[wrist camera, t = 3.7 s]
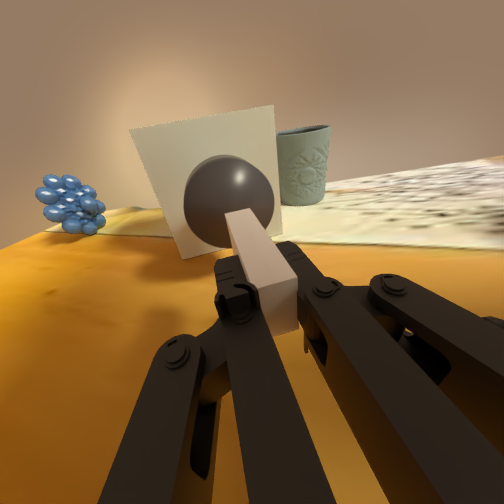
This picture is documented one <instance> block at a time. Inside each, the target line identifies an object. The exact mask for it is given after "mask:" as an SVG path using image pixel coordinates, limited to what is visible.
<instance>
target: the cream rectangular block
mask: <svg viewBox="0 0 504 504" xmlns="http://www.w3.org/2000/svg"><path fill="white" fill-rule="evenodd" d="M129 131H130V134H131V136H132V139H133V141H134V144H135V145H136V148H137V151H138V153H139V156H140V158H141V160H142V163H143V165H144V168H145V170H146V173H147V175H148V177H149V180H150V182H151V184H152V187H153V190H154V192H155V194H156V197H157V199H158V201H159V204H160V207H161V209H162V211H163V214H164V216H165V219H166V221H167V223H168V226H169V228H170V231H171V233H172V236H173V238H174V240H175V243H176V245H177V248H178V250H179V252H180V255H181V257H182V260H184V259H188V258H192V257H196V256H199V255H203V254H207V253H211V252H215V251H219V250H223V249H227V248H218V247H214V246H211V245H209V244H207V243H205V242H203V241H202V240H200V239H199V238H198V237H197V236H196V235H195V234H194V233H193V232H192V231H191V229H190V227H189V226H188V224H187V221H186V219H185V215H184V209H183V202H184V191H185V185H186V182H187V179H188V177H189V175H190V174H191V172H192V171H193V169H194V168H195V167H196V166H197V165H198V164H200V163H201V162H202V161H204V160H206V159H208V158H210V157H213V156H217V155H233V156H237V157H240V158H242V159H244V160H246V161H247V162H249V163H250V164H252V165H253V166H254V167H256V168H257V169H259V170H260V171H261V172H262V173H263V174H264V175H265V177H266V178H267V179H268V181H269V183H270V185H271V187H272V190H273V193H274V202H275V205H274V212H273V216H272V219H271V221H270V223H269V225H268V227H267V228H266V230H265V231H266V232H267V234H268V235H269V237H273V236H277V235H281V234H283V230H282V216H281V202H280V188H279V174H278V160H277V146H276V132H275V118H274V105H268V106H262V107H257V108H251V109H245V110H240V111H234V112H229V113H223V114H217V115H211V116H205V117H200V118H194V119H188V120H182V121H177V122H171V123H166V124H159V125H154V126H148V127H142V128H137V129H131V130H129Z"/></svg>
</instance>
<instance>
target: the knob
mask: <svg viewBox="0 0 504 504" xmlns="http://www.w3.org/2000/svg"><path fill="white" fill-rule="evenodd" d="M274 205H275V202H274V193H273V190H272V187H271V185H270V183H269V181H268V179H267V178H266V177H265V175H264V174H263V173H262V172H261V171H260V170H259V169H257V168H256V167H254V166H253V165H252V164H250V163H249V162H247V161H246V160H244V159H242V158H240V157H237V156H233V155H217V156H213V157H210V158H208V159H206V160H204V161H202V162H201V163H200V164H198V165H197V166H196V167H195V168H194V169H193V171H192V172H191V174H190V175H189V177H188V179H187V182H186V185H185V191H184V202H183V209H184V215H185V219H186V221H187V224H188V226H189V227H190V229H191V231H192V232H193V233H194V234H195V235H196V236H197V237H198V238H199V239H200V240H202V241H203V242H205V243H207V244H209V245H211V246H214V247H218V248H232V244H231V240H230V235H229V231H228V227H227V222H226V218H225V214H226V213H230V212H234V211H239V210H243V209H247V208H250V209H251V211H252V212H253V213H254V215H255V216H256V218H257V219H258V221H259V222H260V224H261V225H262V226H263V228H264V229H265V230H266V228H267V227H268V225H269V223H270V221H271V219H272V216H273V212H274Z"/></svg>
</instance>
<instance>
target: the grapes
mask: <svg viewBox="0 0 504 504" xmlns="http://www.w3.org/2000/svg"><path fill="white" fill-rule="evenodd" d="M43 183H44V185H45V186H46V187H40V188H37V190H36V191H35V196H36V198H37V199H38V200H39V201H40V202H42V203H44V204H47V205H50V206H46V207H45V208H44V216H45V217H46V218H47V219H48V220H50V221H52V222H58V223H60V222H62V228H63V229H64V230H65V231H66V232H68V233H70V234H78V233H80V232H81V231H82V232H83V233H84V234H86V235H93V234H95V233H96V232H97V230H98V228H97V227H101V226H104V225H105V224H106V219H105V217H104V216H103V215H101V213H104V211H105V209H106V208H105V205H104V204H103V203H102V202H100V201H99V200H94V199H95V198H96V195H97V194H96V191H95V190H94V189H93V188H92V187H90V186H87V185H81V182H80V181H79V180H78V179H77V178H76V177H74V176H72V175H63V176H62V178H60V177H58V176H56V175H52V174H50V175H46V176H45V177H44V178H43Z"/></svg>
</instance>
